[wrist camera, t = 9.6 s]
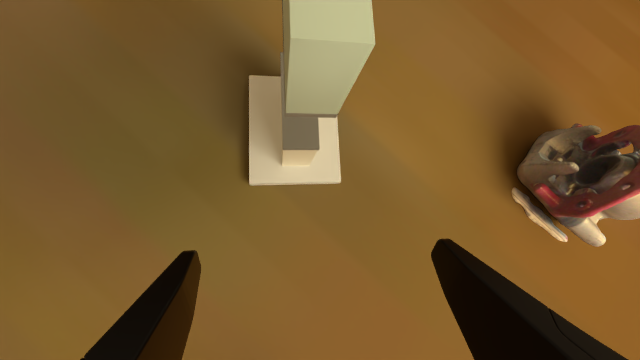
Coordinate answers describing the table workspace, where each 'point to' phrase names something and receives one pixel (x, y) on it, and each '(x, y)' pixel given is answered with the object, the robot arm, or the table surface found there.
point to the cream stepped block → (288, 139)
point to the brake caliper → (581, 180)
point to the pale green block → (323, 53)
